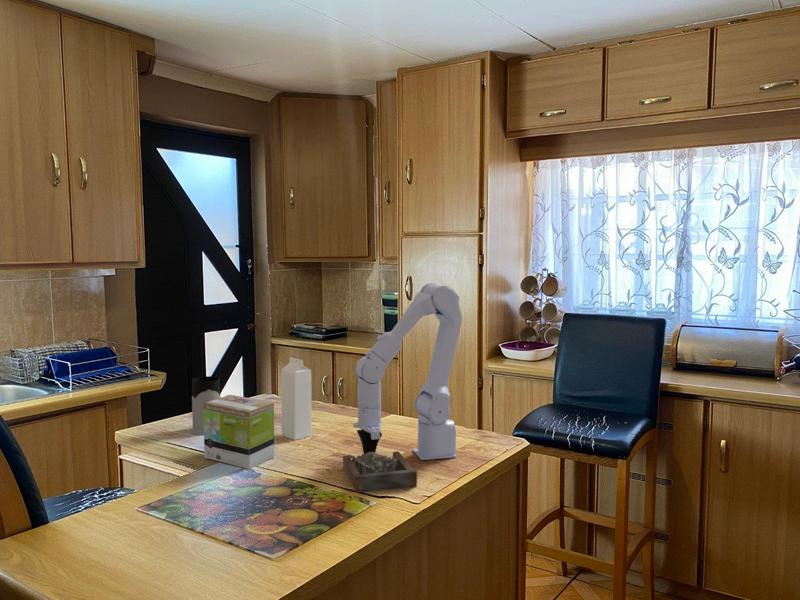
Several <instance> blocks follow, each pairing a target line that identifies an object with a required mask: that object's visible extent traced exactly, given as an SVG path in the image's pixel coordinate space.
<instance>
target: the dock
mask: <svg viewBox="0 0 800 600" xmlns="http://www.w3.org/2000/svg"><path fill="white" fill-rule="evenodd" d="M392 458H394V459H397V458H398V459H397V461H396V463H395V471H391V472H380V473H369V474H363V473H359V472H358V470H357V468H356V467H355V465H354V463H353V462H352V458H350V457H349V455H342V469H343V471H344V473H345V475H346V477H347V479H348V481H349V483H350V484H351V487H352V488H353V490H354V492H355V493H366V492H367V493H369V492H377V491H387V490H398V489H406V488H417V486H418V483H417V482H418V471H417V470H416V469H415V468H413V467H412V465H410V463H409V462H408V461H407V459H406V458H405V457H404V456H403V455H402V454H401V453H400V452H399V451H392Z"/></svg>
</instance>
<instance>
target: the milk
mask: <svg viewBox="0 0 800 600" xmlns="http://www.w3.org/2000/svg"><path fill="white" fill-rule="evenodd" d="M280 374H281V381H280V382H281V383H280V384H281V385H280V387H281V436H282V437H284V436H285V438H287V439H290V440H293V441H297V439H298V440H301V439H305V438H308V437H311V436H313V435H312V369H310V368H308V367H306V366H305V365H304V360H303V359H299V358H295V357H289V363H287V364H286V365H285V366H284V367H283V368H282V369H281V373H280ZM310 435H311V436H310ZM307 436H308V437H307ZM304 437H305V438H304Z"/></svg>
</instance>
